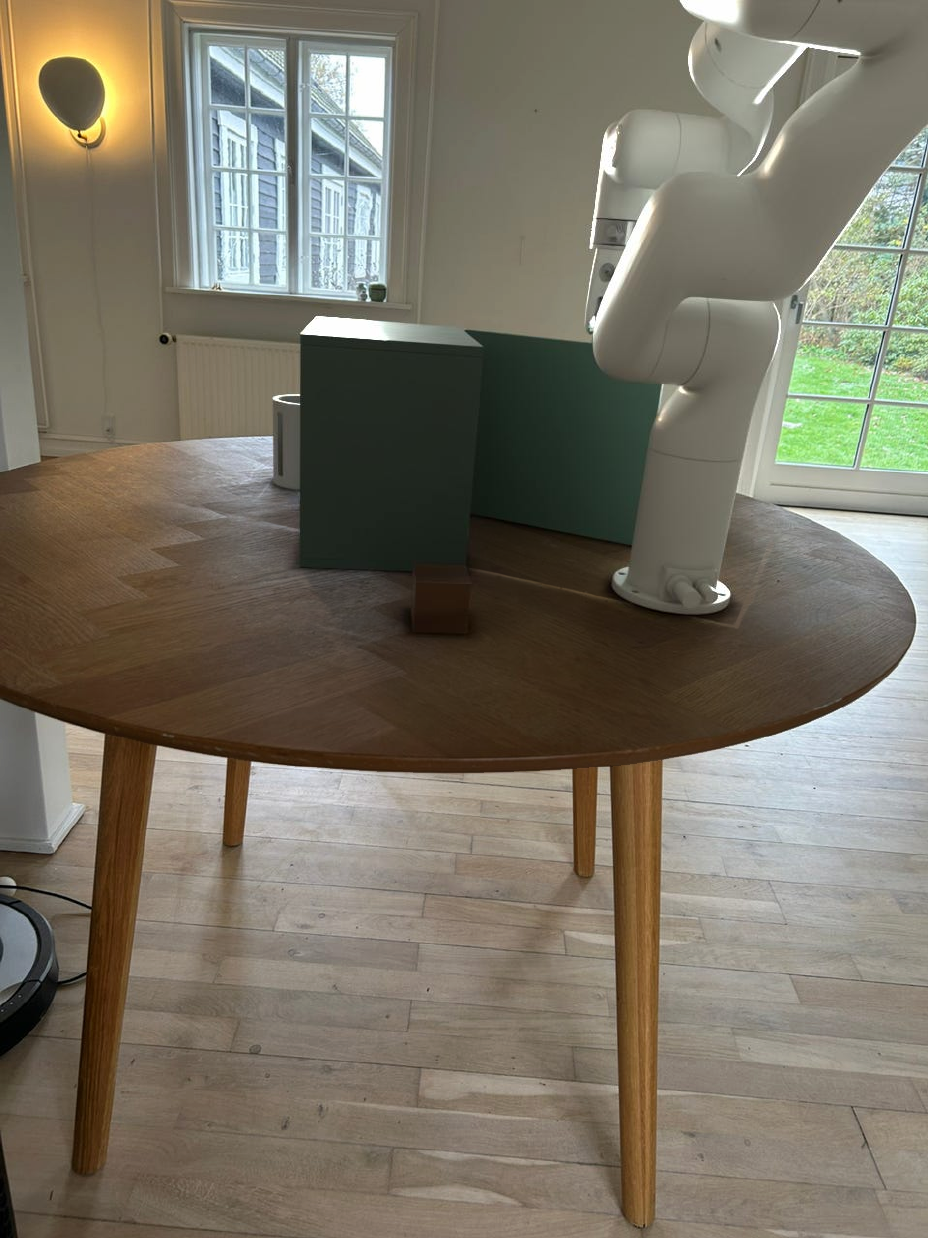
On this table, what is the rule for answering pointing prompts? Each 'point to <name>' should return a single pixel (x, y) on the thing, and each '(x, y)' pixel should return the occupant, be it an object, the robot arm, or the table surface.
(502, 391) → the door
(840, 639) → the table surface
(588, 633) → the table surface
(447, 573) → the block
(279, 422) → the cup
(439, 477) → the cupboard
